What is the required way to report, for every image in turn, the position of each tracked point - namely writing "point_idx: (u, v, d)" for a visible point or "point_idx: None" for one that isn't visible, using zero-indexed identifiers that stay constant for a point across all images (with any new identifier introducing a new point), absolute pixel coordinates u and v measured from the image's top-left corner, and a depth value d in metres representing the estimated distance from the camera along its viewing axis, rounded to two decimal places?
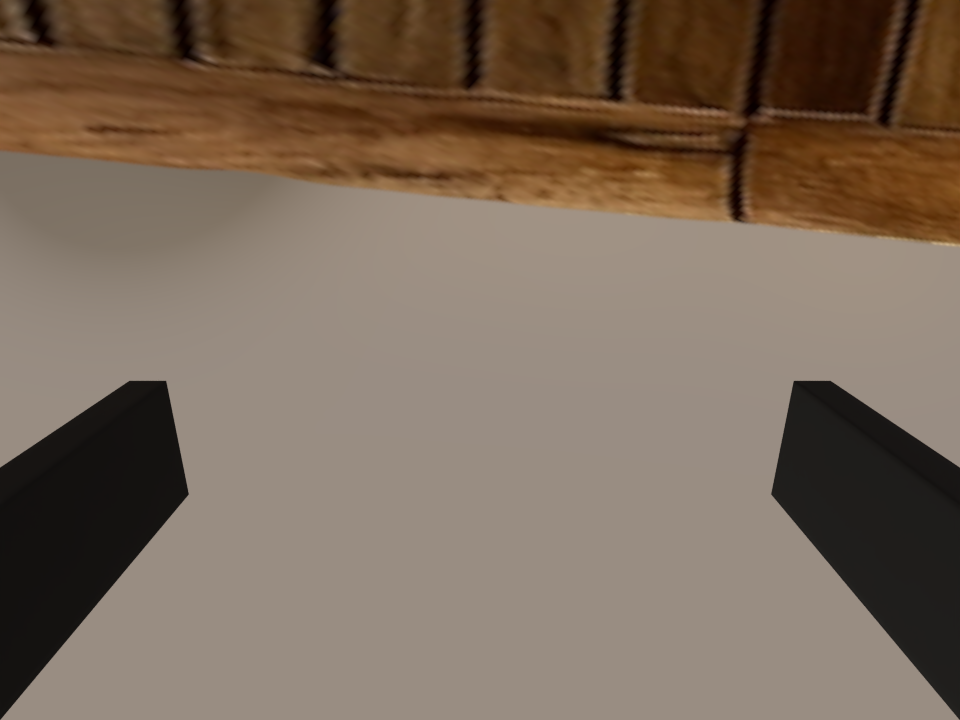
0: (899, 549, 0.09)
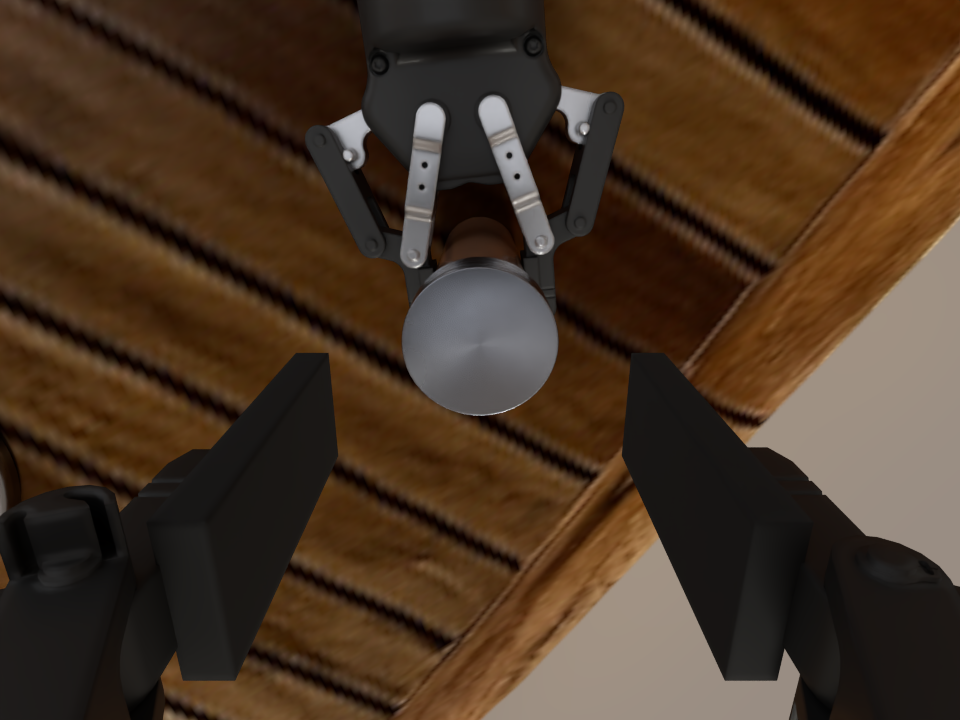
0: (674, 488, 0.11)
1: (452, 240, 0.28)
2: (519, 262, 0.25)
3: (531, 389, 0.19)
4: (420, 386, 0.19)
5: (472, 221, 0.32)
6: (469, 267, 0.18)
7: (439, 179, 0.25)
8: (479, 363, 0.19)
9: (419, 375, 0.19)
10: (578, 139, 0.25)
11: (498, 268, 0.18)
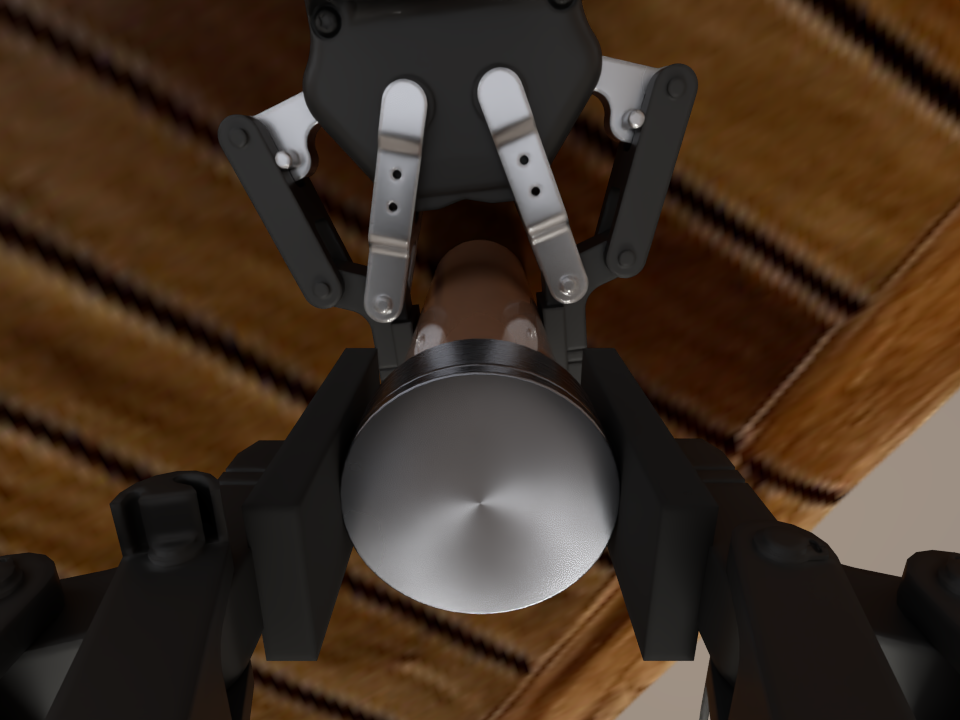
0: None
1: (441, 279, 0.20)
2: (538, 318, 0.17)
3: (570, 574, 0.11)
4: (375, 569, 0.11)
5: (469, 247, 0.23)
6: (460, 372, 0.09)
7: (420, 195, 0.17)
8: (479, 533, 0.10)
9: (372, 552, 0.11)
10: (625, 136, 0.17)
11: (514, 373, 0.10)
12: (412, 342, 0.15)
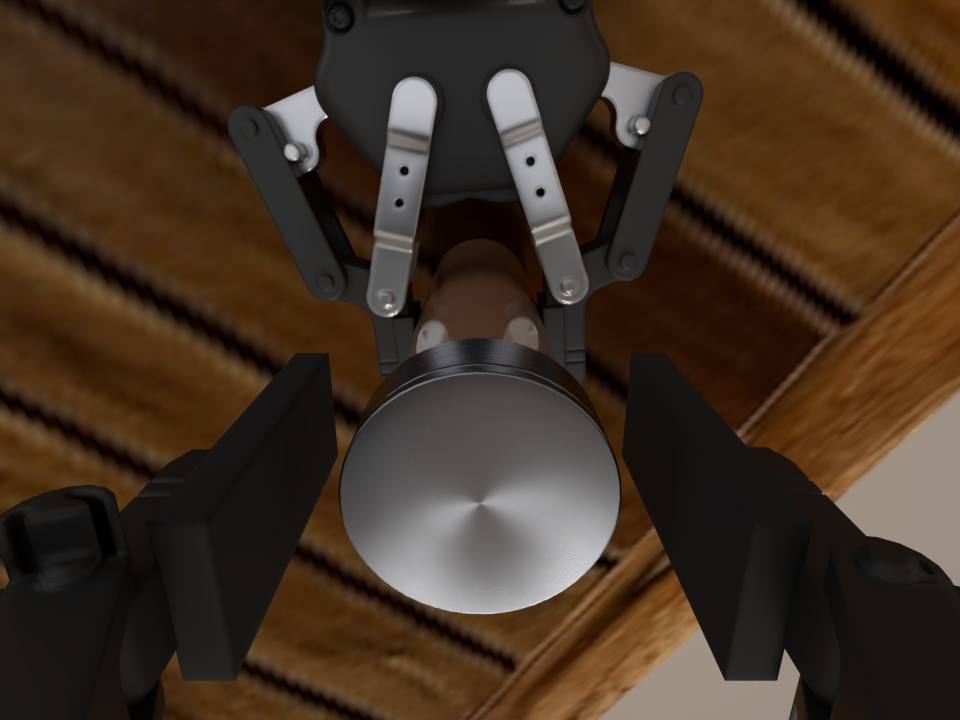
0: (674, 488, 0.11)
1: (443, 275, 0.20)
2: (539, 318, 0.17)
3: (593, 442, 0.10)
4: (526, 604, 0.11)
5: (471, 246, 0.24)
6: (340, 484, 0.10)
7: (426, 192, 0.17)
8: (514, 512, 0.10)
9: (506, 601, 0.11)
10: (630, 141, 0.17)
11: (352, 441, 0.10)
12: (415, 337, 0.15)
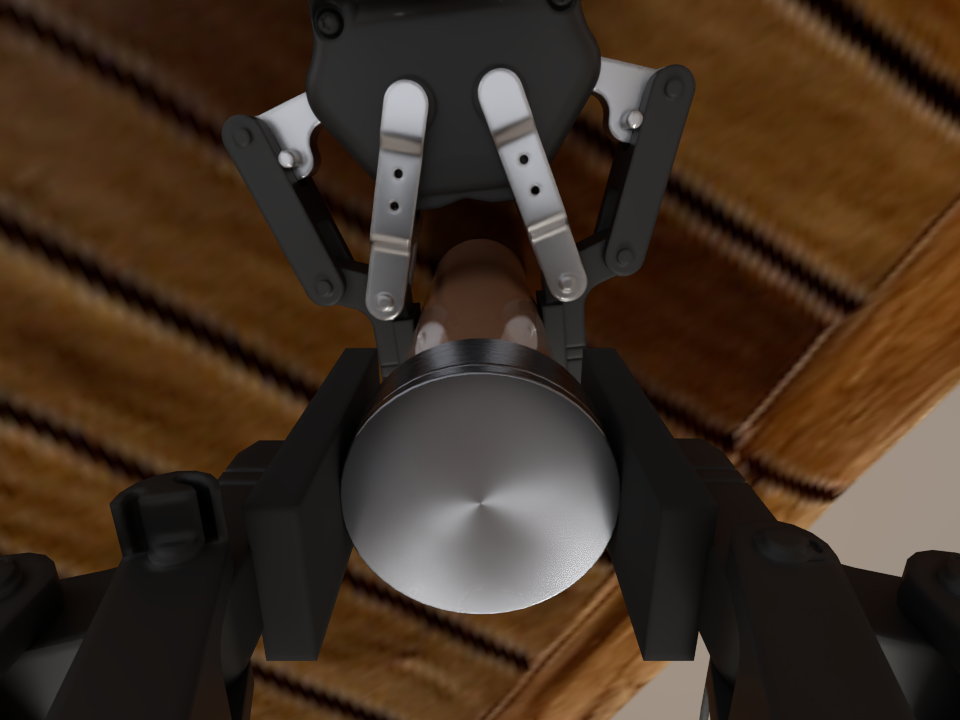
0: None
1: (441, 277, 0.20)
2: (538, 316, 0.17)
3: (591, 438, 0.10)
4: (531, 602, 0.11)
5: (470, 246, 0.24)
6: (340, 488, 0.10)
7: (421, 194, 0.17)
8: (514, 511, 0.10)
9: (510, 600, 0.11)
10: (623, 136, 0.17)
11: (350, 445, 0.10)
12: (413, 339, 0.15)
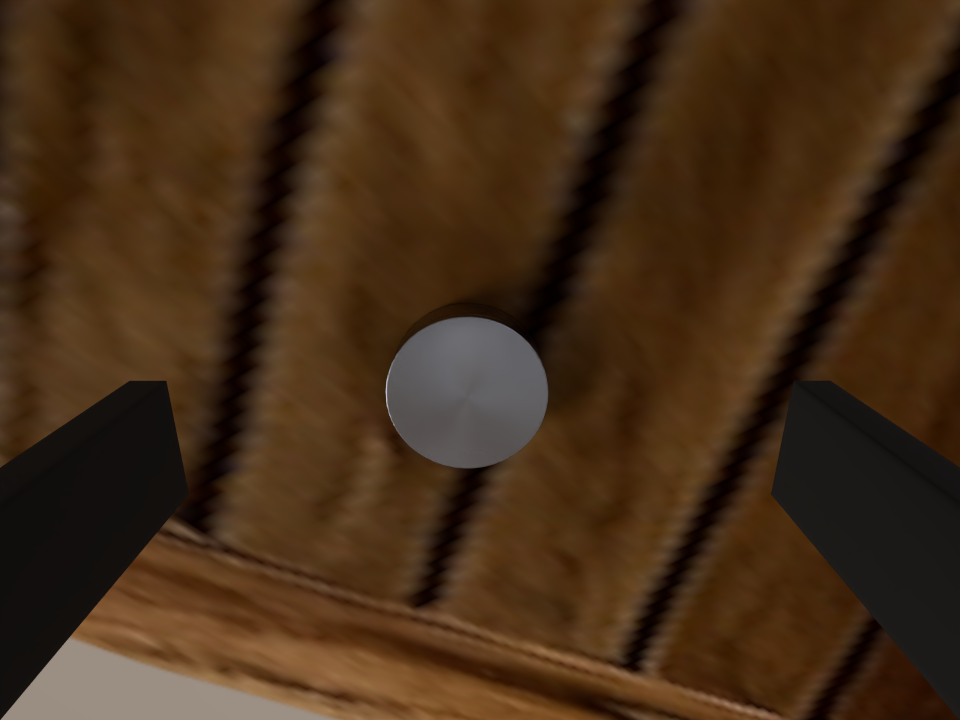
0: (899, 549, 0.09)
1: None
2: None
3: (529, 355, 0.17)
4: (498, 460, 0.18)
5: None
6: (386, 388, 0.18)
7: None
8: (487, 400, 0.18)
9: (485, 459, 0.18)
10: None
11: (392, 361, 0.17)
12: None
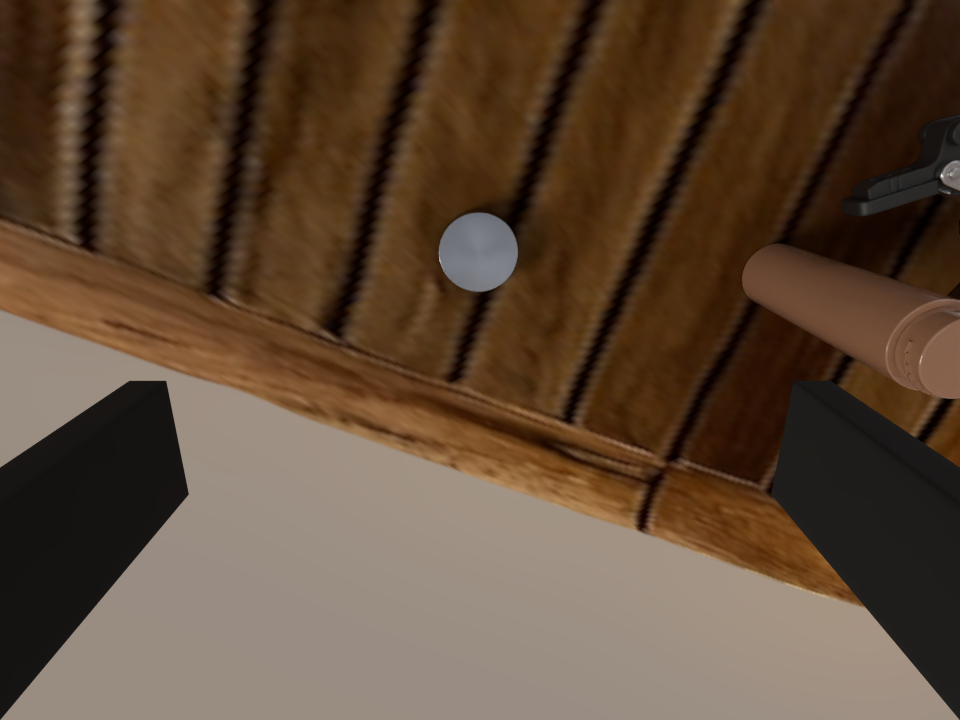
0: (899, 549, 0.09)
1: None
2: None
3: (508, 232, 0.36)
4: (493, 287, 0.37)
5: None
6: (439, 249, 0.36)
7: None
8: (488, 255, 0.36)
9: (487, 286, 0.37)
10: None
11: (442, 235, 0.36)
12: (908, 283, 0.27)
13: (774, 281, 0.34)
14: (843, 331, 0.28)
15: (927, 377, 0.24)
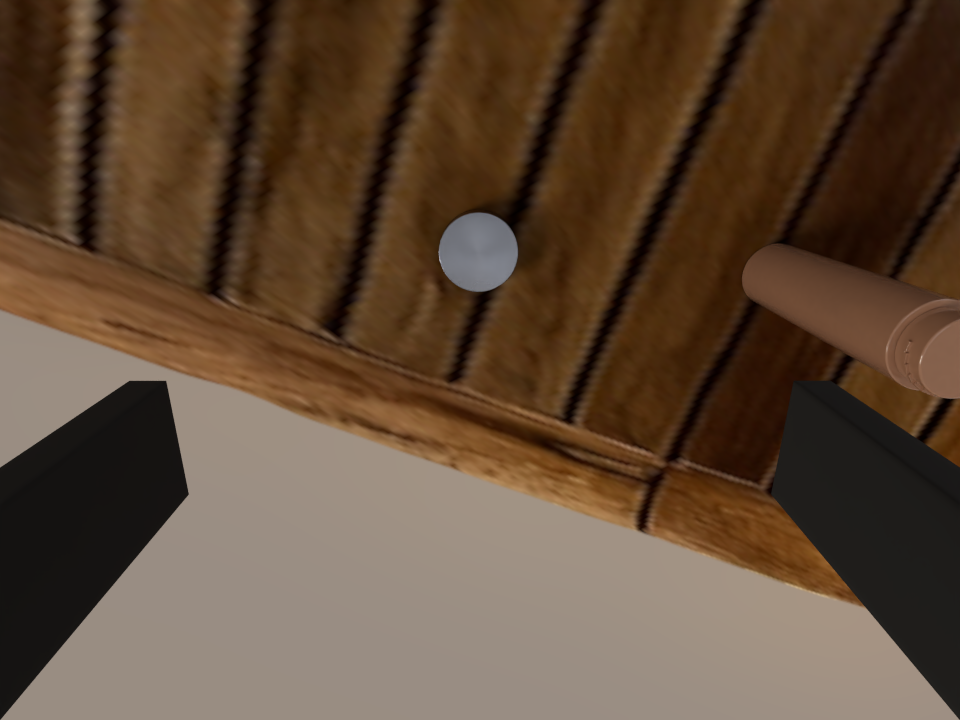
0: (899, 549, 0.09)
1: None
2: None
3: (508, 232, 0.36)
4: (493, 287, 0.37)
5: None
6: (439, 249, 0.36)
7: None
8: (488, 255, 0.36)
9: (487, 286, 0.37)
10: None
11: (442, 235, 0.36)
12: None
13: (774, 281, 0.34)
14: (843, 331, 0.28)
15: (927, 377, 0.24)
